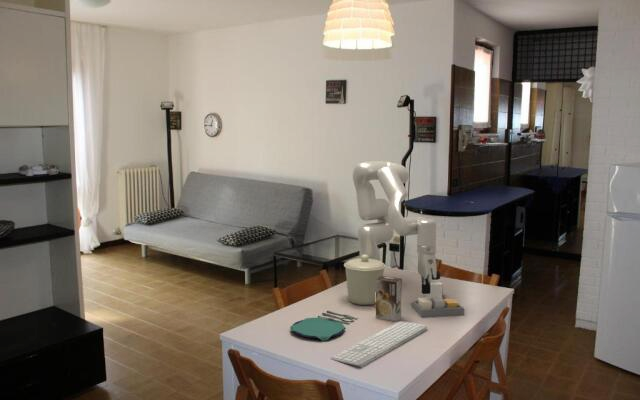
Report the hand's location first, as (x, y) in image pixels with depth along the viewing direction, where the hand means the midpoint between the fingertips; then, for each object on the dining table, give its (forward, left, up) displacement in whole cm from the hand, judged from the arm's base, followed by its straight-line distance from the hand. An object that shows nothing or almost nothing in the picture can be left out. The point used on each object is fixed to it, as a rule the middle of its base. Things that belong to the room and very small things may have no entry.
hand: (425, 293), depth 228 cm
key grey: (+5, 0, -6) cm, 8 cm away
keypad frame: (+5, 0, -8) cm, 10 cm away
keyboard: (-26, -29, -9) cm, 40 cm away
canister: (-22, +17, -8) cm, 29 cm away
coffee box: (-17, -4, -8) cm, 19 cm away
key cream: (0, 0, -6) cm, 6 cm away
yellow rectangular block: (+11, 0, -7) cm, 13 cm away
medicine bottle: (+10, +19, -8) cm, 24 cm away
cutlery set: (-44, -10, -9) cm, 46 cm away
